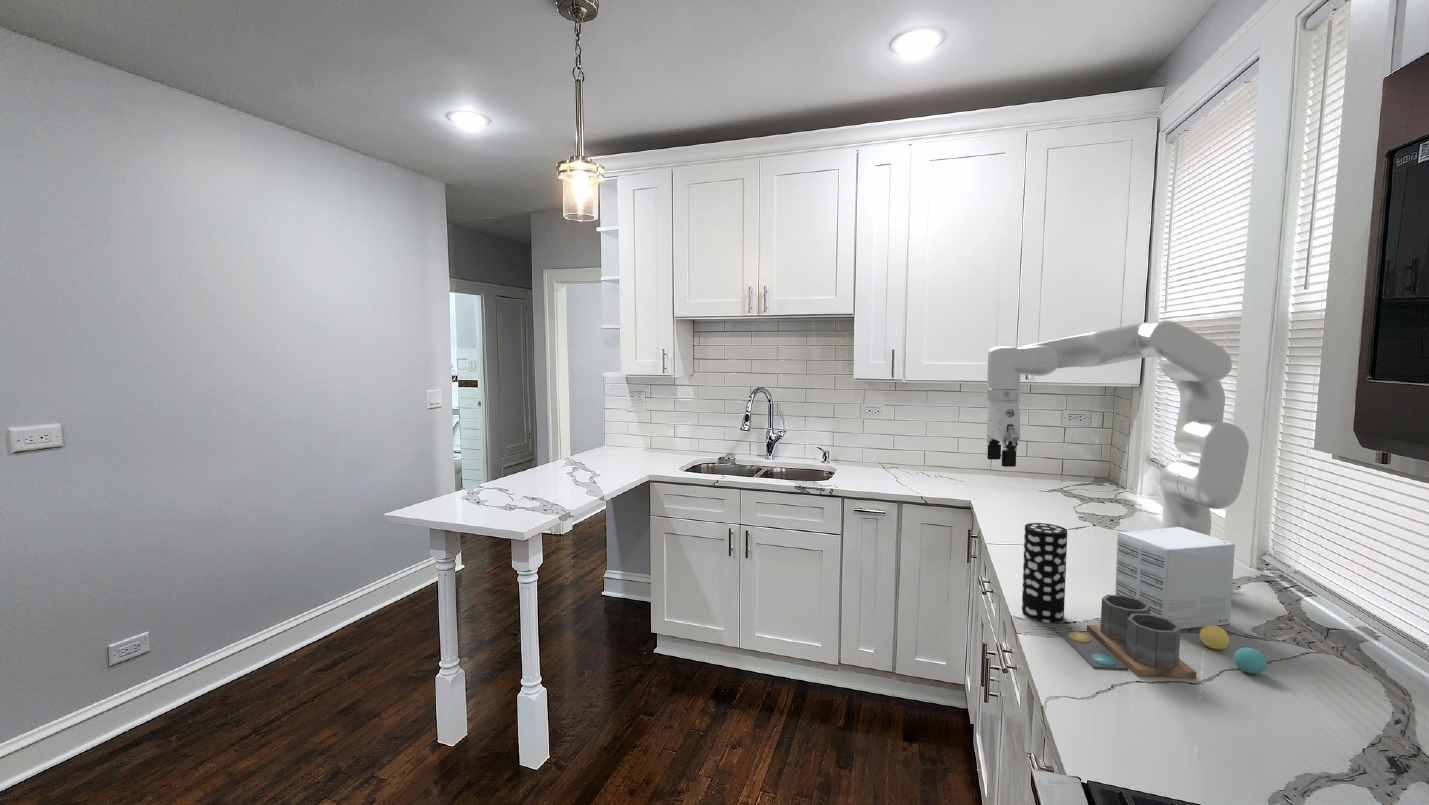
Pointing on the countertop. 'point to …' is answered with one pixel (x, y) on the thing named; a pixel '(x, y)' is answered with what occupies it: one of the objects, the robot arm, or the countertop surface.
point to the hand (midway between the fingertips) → (1001, 462)
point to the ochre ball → (1214, 637)
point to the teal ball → (1250, 660)
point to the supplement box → (1177, 574)
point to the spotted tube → (1044, 572)
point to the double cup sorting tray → (1140, 638)
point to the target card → (1093, 651)
